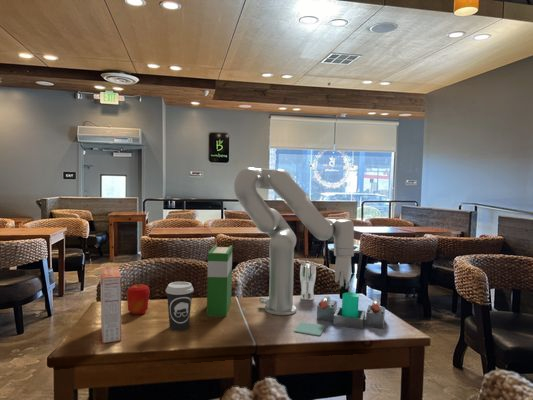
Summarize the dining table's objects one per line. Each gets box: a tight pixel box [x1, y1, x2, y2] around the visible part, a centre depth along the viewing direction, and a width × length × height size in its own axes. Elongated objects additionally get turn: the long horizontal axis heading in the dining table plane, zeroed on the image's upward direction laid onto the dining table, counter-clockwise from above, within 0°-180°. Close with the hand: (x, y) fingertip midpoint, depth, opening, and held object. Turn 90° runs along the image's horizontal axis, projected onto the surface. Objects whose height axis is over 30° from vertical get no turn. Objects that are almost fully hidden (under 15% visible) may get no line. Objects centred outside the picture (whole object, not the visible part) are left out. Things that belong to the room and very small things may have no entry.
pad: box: [293, 321, 326, 337], centre depth 135 cm, size 9×9×1 cm
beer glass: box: [299, 262, 317, 301], centre depth 170 cm, size 7×7×15 cm
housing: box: [316, 298, 386, 330], centre depth 143 cm, size 24×13×6 cm, turn 70°
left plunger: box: [318, 295, 332, 309], centre depth 144 cm, size 3×8×3 cm, turn 160°
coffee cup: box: [165, 281, 195, 332], centre depth 133 cm, size 10×10×15 cm
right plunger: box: [371, 298, 381, 313], centre depth 142 cm, size 3×8×3 cm, turn 160°
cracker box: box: [100, 266, 122, 344], centre depth 126 cm, size 14×6×21 cm, turn 24°
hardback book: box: [206, 244, 233, 318], centre depth 153 cm, size 18×7×24 cm, turn 179°
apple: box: [126, 282, 151, 316], centre depth 146 cm, size 9×8×12 cm
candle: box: [341, 291, 360, 318], centre depth 142 cm, size 6×6×12 cm
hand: (344, 298), depth 149 cm, fingers closed
